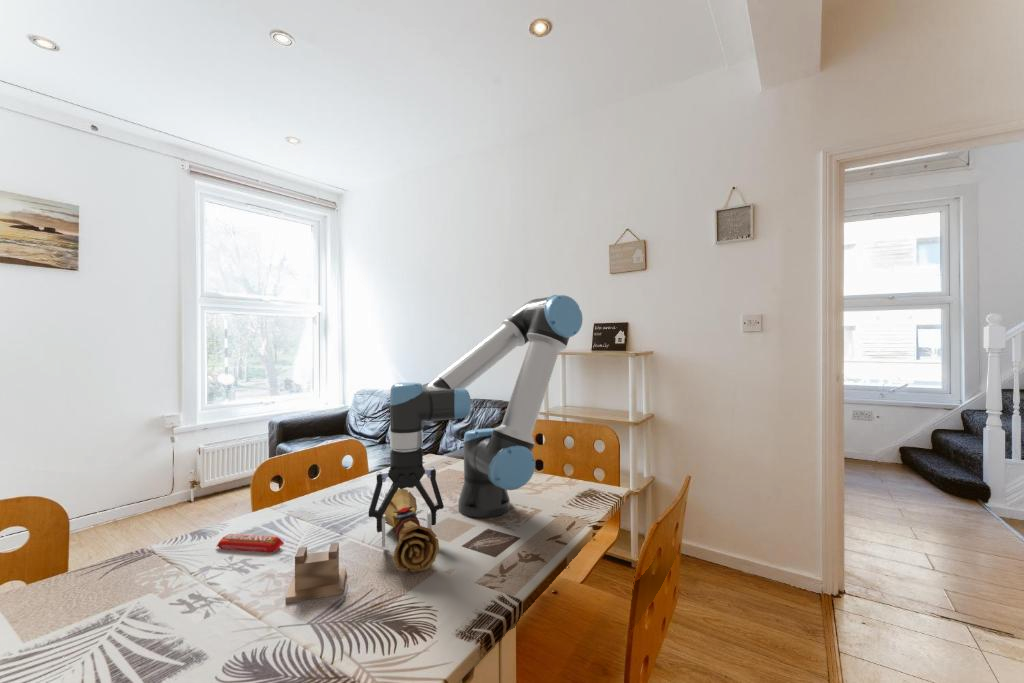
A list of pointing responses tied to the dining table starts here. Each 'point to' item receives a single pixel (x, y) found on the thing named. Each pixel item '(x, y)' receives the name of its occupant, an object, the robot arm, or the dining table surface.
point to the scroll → (410, 534)
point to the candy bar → (250, 543)
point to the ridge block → (316, 575)
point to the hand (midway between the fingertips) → (406, 541)
